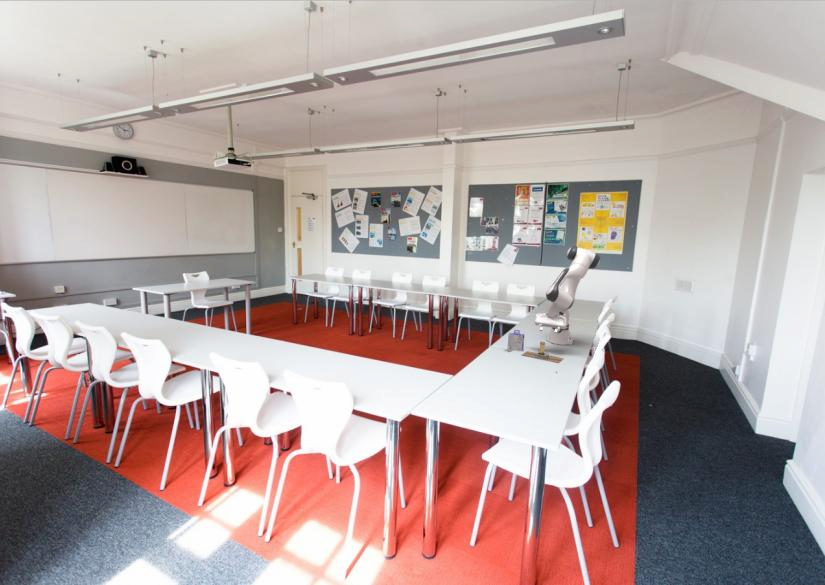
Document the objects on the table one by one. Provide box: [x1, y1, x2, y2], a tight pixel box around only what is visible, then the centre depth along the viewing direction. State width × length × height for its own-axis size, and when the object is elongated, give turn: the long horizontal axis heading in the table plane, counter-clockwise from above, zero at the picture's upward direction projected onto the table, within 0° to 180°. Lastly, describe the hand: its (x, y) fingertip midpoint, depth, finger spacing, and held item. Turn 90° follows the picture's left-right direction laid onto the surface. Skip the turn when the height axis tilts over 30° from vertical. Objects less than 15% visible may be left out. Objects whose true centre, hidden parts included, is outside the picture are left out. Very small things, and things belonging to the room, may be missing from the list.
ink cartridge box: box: [506, 329, 525, 352], centre depth 271 cm, size 10×6×14 cm, turn 63°
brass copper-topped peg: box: [538, 341, 546, 355], centre depth 254 cm, size 3×3×10 cm
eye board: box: [520, 350, 565, 364], centre depth 257 cm, size 12×24×4 cm, turn 54°
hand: (548, 331), depth 261 cm, fingers open, 8 cm apart
